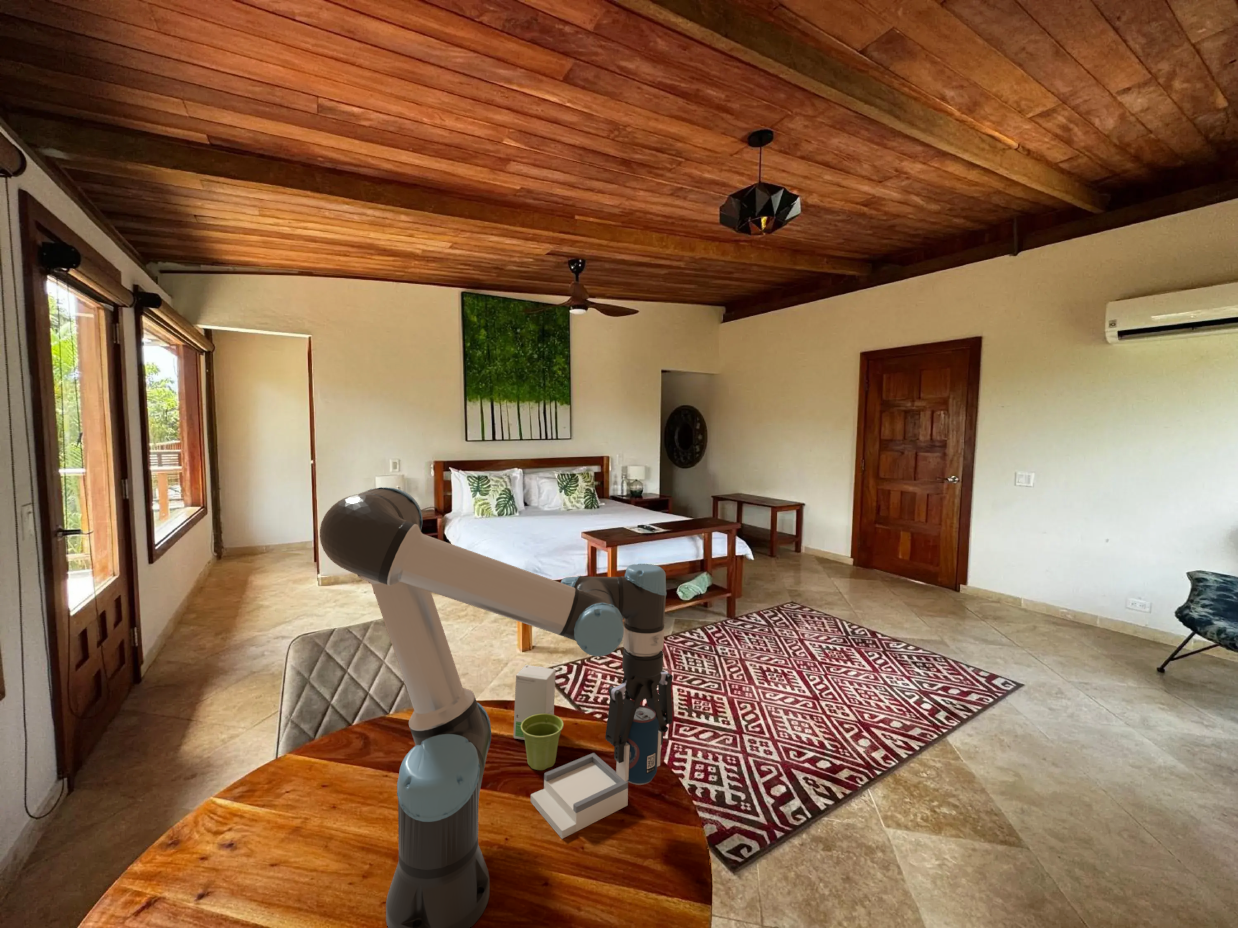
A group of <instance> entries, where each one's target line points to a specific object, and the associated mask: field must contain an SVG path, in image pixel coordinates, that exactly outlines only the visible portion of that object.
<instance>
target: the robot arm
mask: <svg viewBox="0 0 1238 928" xmlns="http://www.w3.org/2000/svg"><path fill="white" fill-rule="evenodd" d="M422 527H423V512H422V509H421V506H420V505H419V503H418V501H417V500H415V498H414V497H413V496H411V495H410V494H409V493H408V492H406V491H404V490H402V489H398V488H396V487H395V488H394V487H387V486H386V487H381V486H379V487H376V488H370V489H369V490H365V491H362V492H360V493H359V492H358V494H353V495H349V496H346V497H344V498H342V499H340V500H338V501H337V502H336V503H334V504H333V505H332V506H331V507H330V508H329V509H328V510H327V512H326V513H325V514H324V516H323V518H322V521H321V523H320V528H319V541H320V544H321V547H322V550H323V552H324V554H326V556H327V557H328V558H329V559H330V560H331V561H332V562H333V563H334V564H335V565H337V566H338V567H340V568H341V569H343V570H345V571H348V572H350V573H352V574H355V575H357V578H358V579H361V580H364V581H366V582H368V583H369V584H371V587H372V590H373V593H374V595H375V598H376V602H377V604H378V608H379V611H380V614H381V616H382V620H383V622H384V626H385V628H386V631H387V635H388V637H389V640H390V642H391V646H392V649H393V651H394V654H395V658H396V660H397V663H398V667H399V669H400V672H401V676H402V678H403V680H404V681H403V682H404V684H405V688H406V690H407V693H408V696H409V699H410V702H411V704H412V708H413V712H412V714H411V715H410V718H409V720H408V726H409V729H410V733H411V735H412V738H413V742H414V746H413V747H412V748H411V749H410V750H409V751H408V753H406V755H405V756H404V758H403V759H402V762H401V765H400V767H399V771H398V772H399V773H398V777H397V778H398V779H397V783H396V788H397V790H396V791H397V792H396V796H397V805H398V806H397V811H398V812H397V815H398V816H397V817H398V822H397V823H398V826H397V827H398V828H397V829H398V836H397V837H398V840H397V841H398V862H397V865H396V868H395V871H394V874H393V877H392V880H391V883H390V886H389V889H388V892H387V896H386V902H385V922H386V926H388V927H387V928H470V927H471V928H472V927H473V926H474V925H475V924H476V923H477V922H478V920H479V919H480V918H481V916H482V915H483V913H484V912H485V910H486V908H487V905H488V903H489V898H490V873H489V869H488V867H487V864H486V861H485V858H484V855H483V853H482V850H481V847H480V846H479V799H480V792H481V787H482V781H483V777H484V776H483V775H484V772H485V766H486V761H487V758H488V756H487V755H488V752H489V749H490V746H491V743H492V742H491V741H492V728H491V725H492V724H491V720H490V716H489V715H488V712H487V711H486V709H485V708H484V707H483V705H482V704H480V703H479V702H477V698H476V696H475V694H474V692H473V690H471V689H468V688H465V687H463V685H462V682H461V678H460V675H459V673H458V669H457V666H456V663H455V661H454V658H453V655H452V651H451V648H450V645H449V642H448V639H447V635H446V634H445V631H444V627H443V624H442V621H441V618H440V616H439V612H438V609H437V606H436V603H435V600H434V596H433V594H432V593H434V594H437V595H439V596H442V597H445V598H448V599H451V600H454V601H456V602H460V603H463V604H465V605H469V606H472V607H474V608H478V609H481V610H484V611H486V612H490V613H493V614H495V615H498V616H502V617H504V618H507V619H511V620H512V621H517V622H518V623H522V624H526V625H528V626H532V627H535V628H536V629H541V630H543V631H546V632H550V633H552V634H554V635H555V634H556V635H558V636H561V637H563V638H566V639H568V640H569V639H570V640H573V641H575V642H576V644H577V646H579V648H580V650H582V651H583V652H584V653H585V654H587V655H589V656H592V657H603V656H607V655H610V654H611V653H613V652H614V651H615V650H617V648H618V647H619V646H620V645H621V643H622V647H623V650H622V661H621V663H622V664H621V665H622V671H623V678H622V680H621V684H619V685H617V686H616V687H614V686H613V685H611V686H610V687H608V694H609V707H608V712H607V720H606V721H607V722H606V729H605V736H604V737H605V740H606V741H607V742H608V743H610V745H612V746H613V747H614V748H613V750H614V751H613V753H614V754H613V757H614V758H613V759H614V760H615V761H616V766H615V767H616V768H615V772H616V774H617V775H618V776H619V777H621V778H622V779H623V780H624V781H627V780H628V776H629V750H630V745H629V744H628V743H626V742H627V739H628V735H629V732H630V729H631V726H632V722H633V719H634V716H635V712H636V709H638V708H639V706H640V705H641V702H643V701H645V700H646V704H647V705H646V706H648V707H650V708H651V709H653V710H654V711H655V712H656V717H657V719H658V722H659V732H658V757H657V768H658V767H660V766H661V753H662V752H661V748H662V746H663V745H664V733H667V732H668V730H669V727H668V726H669V725H671V724H672V723H673V702H672V701H673V700H672V684H673V679H674V676H673V675H672V674H671V673H669V672H667V671H666V670H665V669H663V668H664V652H663V650H664V645H665V644H664V642H665V641H664V639H665V619H666V618H665V614H666V601H667V600H666V598H667V593H668V592H667V581H666V580H667V579H666V576H667V573H666V572H665V570H664V569H663V568H662V567H661V566H659V565H656V564H655V565H654V564H651V563H650V564H649V563H638V564H635V563H634V564H630V565H628V566H627V567H626V568H625V573H624V576H623V575H622V576H582V575H578V576H567V577H563V578H562V579H561V581H560V582H559V581H557V580H554V579H550V578H548V577H545V576H543V575H541V574H540V575H539V574H537V573H534V572H531V571H529V570H525V569H523V568H520V567H518V566H514V565H512V564H509V563H507V562H503V561H501V560H497V559H495V558H491V557H489V556H486V555H483V554H480V553H478V552H475V551H473V550H469V549H467V548H463V547H461V546H458V545H455V544H453V543H449V542H446V541H444V540H441V539H439V538H436V537H432V536H430V535H427V534H425V533H423V532H422ZM623 620H624V621H623ZM667 725H668V726H667ZM627 782H628V781H627Z"/></svg>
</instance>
